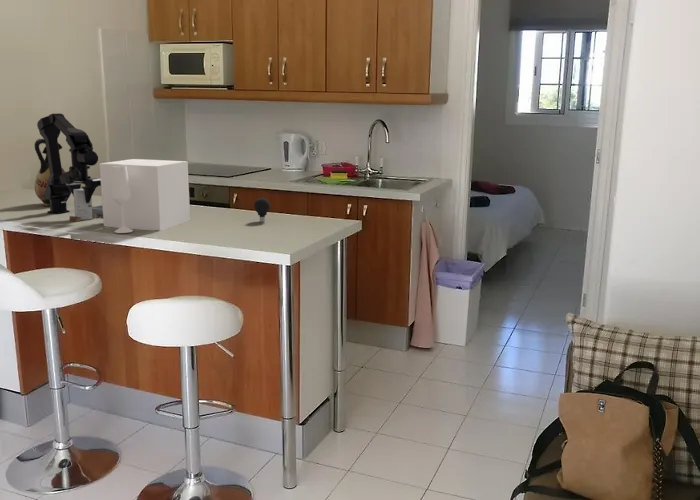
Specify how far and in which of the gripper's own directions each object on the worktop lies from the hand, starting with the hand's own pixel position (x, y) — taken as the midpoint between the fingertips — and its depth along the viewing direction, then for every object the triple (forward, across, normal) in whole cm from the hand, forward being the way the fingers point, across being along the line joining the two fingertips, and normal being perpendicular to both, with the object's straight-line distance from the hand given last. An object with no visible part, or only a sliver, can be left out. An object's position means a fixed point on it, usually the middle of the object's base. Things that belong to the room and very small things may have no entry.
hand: (82, 202), depth 272 cm
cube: (+7, +29, +6) cm, 30 cm away
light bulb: (+7, +66, +31) cm, 73 cm away
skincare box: (+7, 0, 0) cm, 7 cm away
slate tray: (+7, 0, +15) cm, 16 cm away
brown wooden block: (+7, 0, 0) cm, 7 cm away
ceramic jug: (+7, -40, +18) cm, 44 cm away
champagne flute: (+7, +32, -10) cm, 34 cm away
